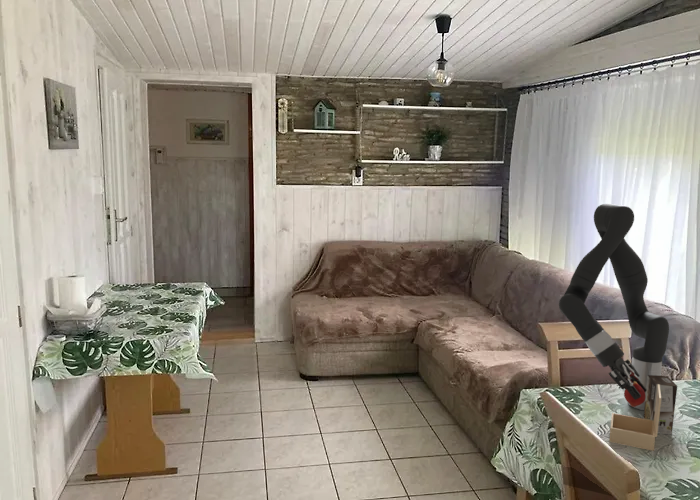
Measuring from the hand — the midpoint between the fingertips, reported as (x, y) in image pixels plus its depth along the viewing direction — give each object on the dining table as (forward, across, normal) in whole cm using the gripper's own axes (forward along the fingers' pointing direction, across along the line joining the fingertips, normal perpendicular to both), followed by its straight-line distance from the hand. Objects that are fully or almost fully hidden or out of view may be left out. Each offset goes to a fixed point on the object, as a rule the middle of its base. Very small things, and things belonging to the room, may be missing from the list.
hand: (641, 395), depth 175 cm
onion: (+2, 0, +4) cm, 5 cm away
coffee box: (+12, +14, +8) cm, 20 cm away
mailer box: (+9, 0, +11) cm, 15 cm away
